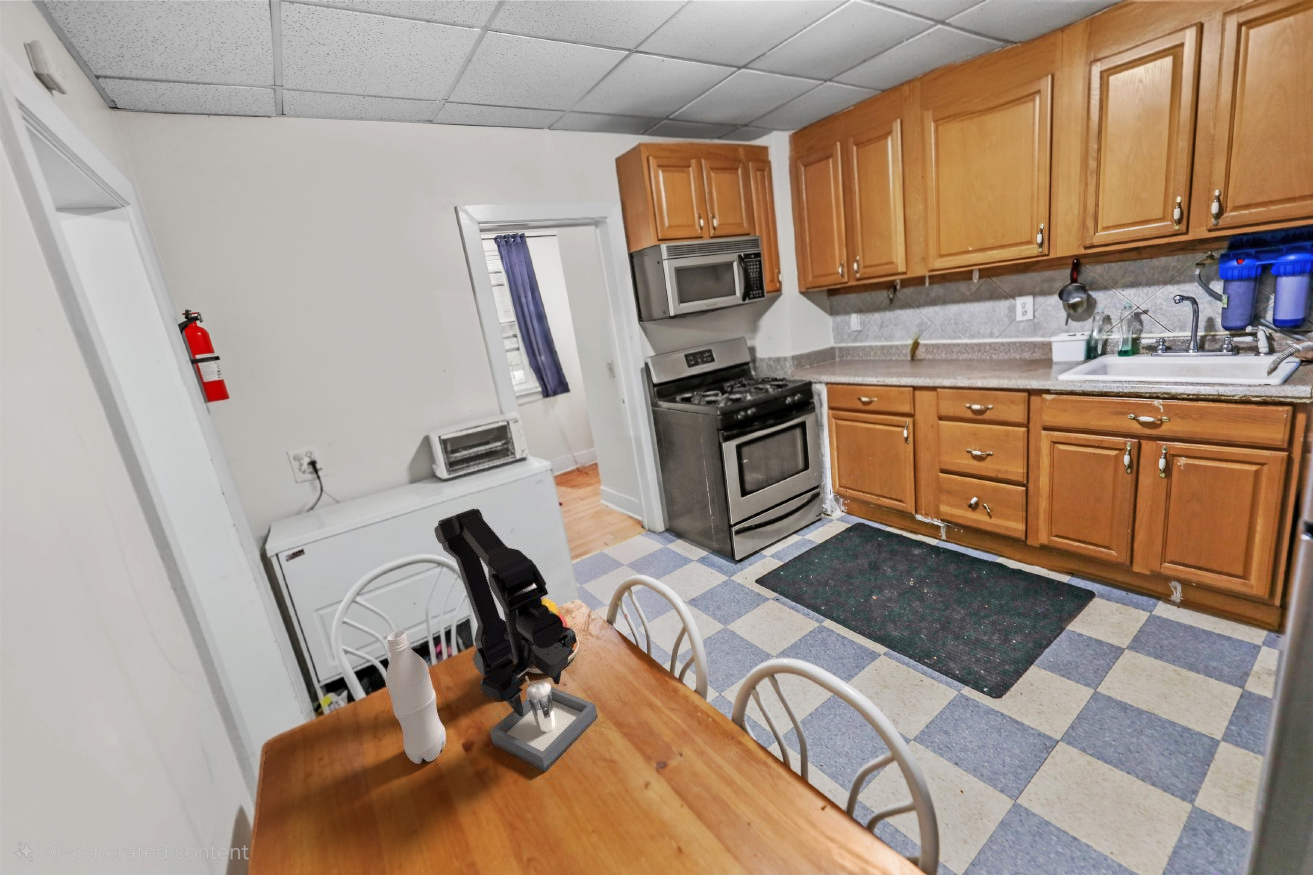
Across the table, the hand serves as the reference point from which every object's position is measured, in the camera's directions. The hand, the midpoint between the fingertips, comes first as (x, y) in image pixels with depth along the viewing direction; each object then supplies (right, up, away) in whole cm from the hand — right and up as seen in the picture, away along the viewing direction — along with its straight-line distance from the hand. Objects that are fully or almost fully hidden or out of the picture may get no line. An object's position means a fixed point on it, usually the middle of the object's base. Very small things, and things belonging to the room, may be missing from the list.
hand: (539, 699), depth 101 cm
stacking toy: (-3, -2, +24) cm, 25 cm away
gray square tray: (+1, -7, +2) cm, 7 cm away
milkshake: (+1, -6, +2) cm, 6 cm away
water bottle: (-21, -10, 0) cm, 23 cm away
